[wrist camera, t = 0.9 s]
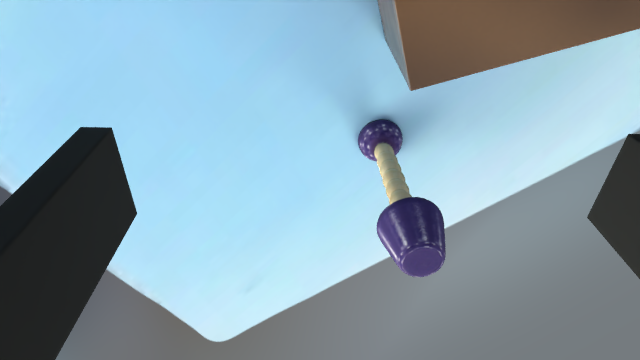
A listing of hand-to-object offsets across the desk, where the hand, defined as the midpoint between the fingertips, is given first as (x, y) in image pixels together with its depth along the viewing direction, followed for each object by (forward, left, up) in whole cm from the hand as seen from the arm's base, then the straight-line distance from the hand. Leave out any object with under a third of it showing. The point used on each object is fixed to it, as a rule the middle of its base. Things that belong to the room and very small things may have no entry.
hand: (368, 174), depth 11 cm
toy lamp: (+14, +1, -26) cm, 30 cm away
